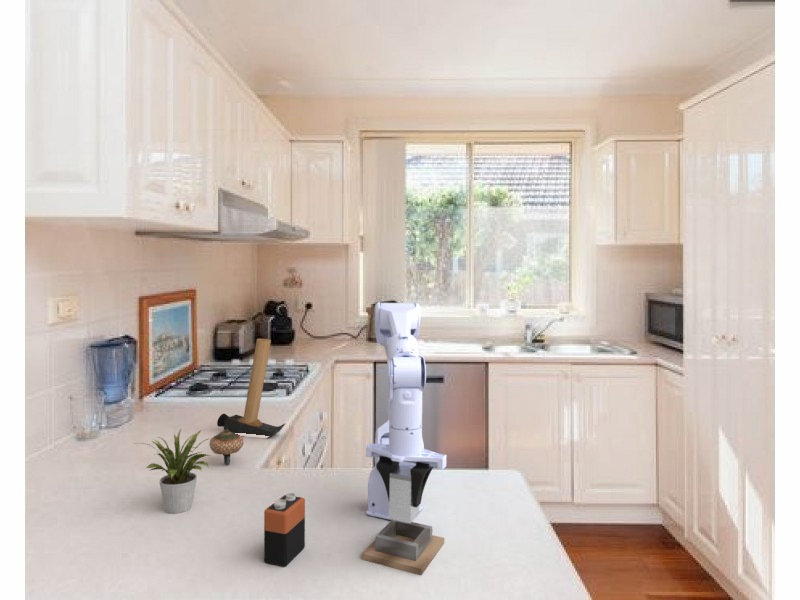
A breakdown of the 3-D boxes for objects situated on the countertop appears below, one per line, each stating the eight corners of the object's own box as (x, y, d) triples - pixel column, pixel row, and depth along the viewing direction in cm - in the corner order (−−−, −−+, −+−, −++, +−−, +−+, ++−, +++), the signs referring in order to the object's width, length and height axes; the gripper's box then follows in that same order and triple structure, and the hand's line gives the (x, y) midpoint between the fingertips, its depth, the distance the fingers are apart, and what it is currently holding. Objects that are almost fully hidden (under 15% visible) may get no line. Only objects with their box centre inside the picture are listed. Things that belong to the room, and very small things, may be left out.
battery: (262, 563, 85) (262, 504, 84) (284, 543, 91) (284, 488, 91) (285, 568, 83) (286, 508, 83) (305, 547, 90) (306, 492, 89)
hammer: (282, 441, 155) (299, 346, 152) (273, 447, 150) (291, 348, 147) (225, 424, 160) (241, 331, 157) (215, 428, 155) (231, 333, 152)
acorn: (206, 463, 130) (205, 424, 130) (238, 457, 135) (238, 419, 134) (213, 473, 123) (213, 432, 123) (247, 466, 128) (247, 427, 128)
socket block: (361, 559, 86) (361, 539, 86) (389, 530, 96) (389, 512, 96) (421, 575, 82) (421, 553, 82) (444, 543, 92) (444, 524, 92)
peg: (389, 518, 88) (389, 473, 87) (398, 509, 91) (399, 465, 91) (410, 523, 86) (411, 477, 86) (419, 513, 90) (419, 469, 89)
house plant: (137, 534, 94) (136, 447, 93) (129, 505, 105) (128, 428, 105) (217, 515, 102) (216, 434, 101) (201, 490, 113) (201, 418, 113)
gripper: (357, 426, 87) (357, 503, 88) (437, 437, 82) (435, 520, 82) (376, 416, 94) (375, 488, 94) (450, 426, 88) (449, 503, 89)
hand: (404, 502), depth 89 cm, fingers closed on peg, 4 cm apart
